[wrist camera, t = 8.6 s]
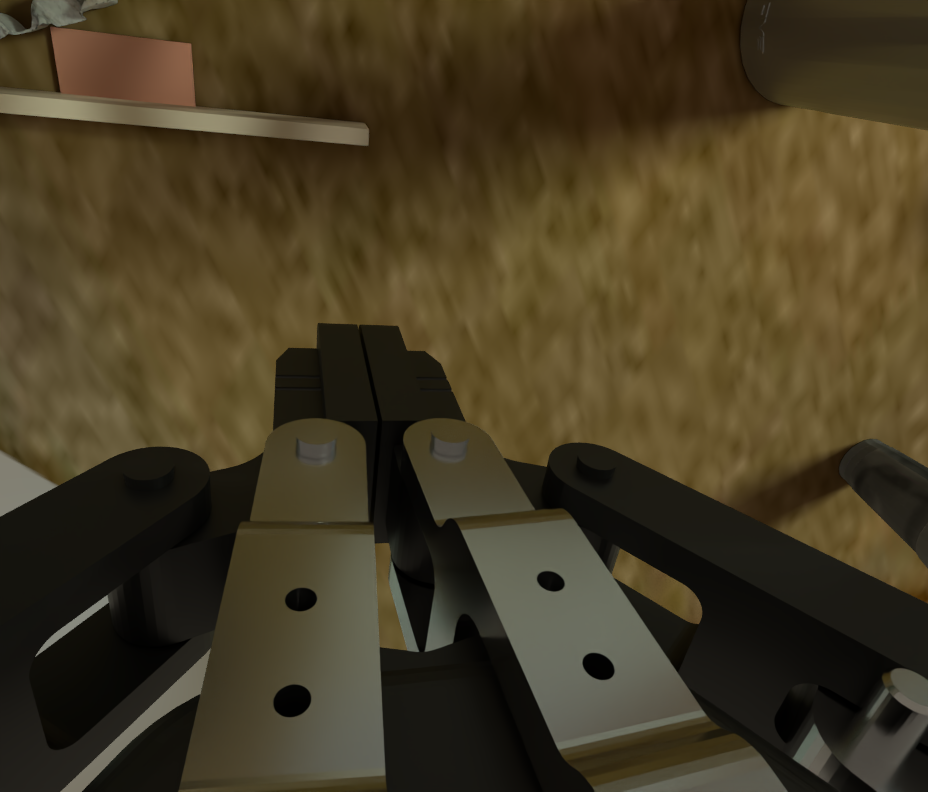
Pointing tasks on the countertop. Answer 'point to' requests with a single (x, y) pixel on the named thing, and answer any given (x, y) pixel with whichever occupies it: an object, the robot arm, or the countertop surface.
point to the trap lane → (152, 92)
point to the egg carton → (52, 14)
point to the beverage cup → (891, 489)
